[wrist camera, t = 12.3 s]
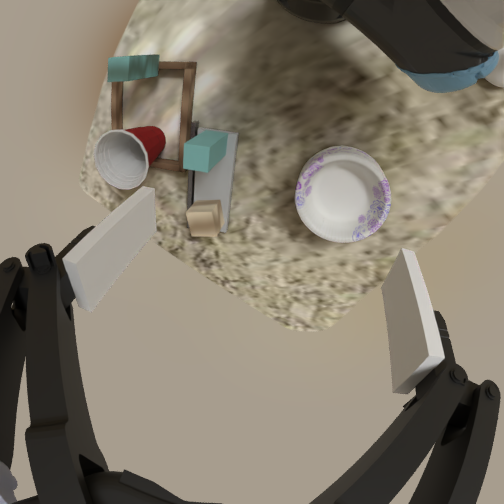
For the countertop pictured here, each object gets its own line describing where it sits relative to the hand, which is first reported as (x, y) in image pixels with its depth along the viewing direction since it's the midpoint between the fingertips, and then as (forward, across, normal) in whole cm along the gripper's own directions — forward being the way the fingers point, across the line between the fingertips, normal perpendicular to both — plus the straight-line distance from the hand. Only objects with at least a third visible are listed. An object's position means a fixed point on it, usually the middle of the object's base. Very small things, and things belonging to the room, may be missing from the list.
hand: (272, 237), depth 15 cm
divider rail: (+37, -19, -15) cm, 44 cm away
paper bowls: (+37, +8, -10) cm, 39 cm away
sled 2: (+37, -14, -15) cm, 42 cm away
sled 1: (+36, -28, -3) cm, 46 cm away
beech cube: (+35, -14, -21) cm, 44 cm away
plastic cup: (+37, -27, -9) cm, 47 cm away
